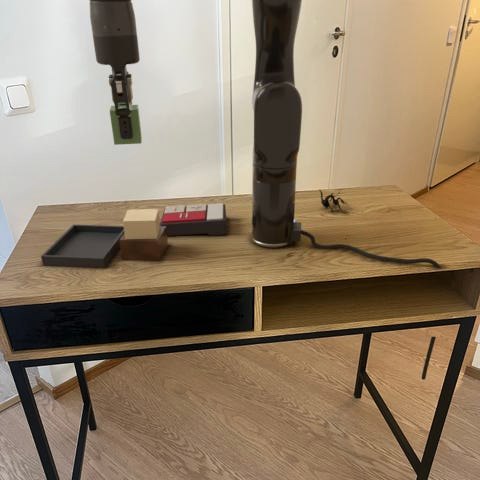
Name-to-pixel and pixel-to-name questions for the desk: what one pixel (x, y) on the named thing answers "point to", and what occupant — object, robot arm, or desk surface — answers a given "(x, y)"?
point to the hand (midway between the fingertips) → (127, 134)
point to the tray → (85, 246)
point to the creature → (326, 202)
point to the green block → (134, 121)
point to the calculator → (195, 219)
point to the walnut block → (144, 247)
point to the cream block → (142, 224)
